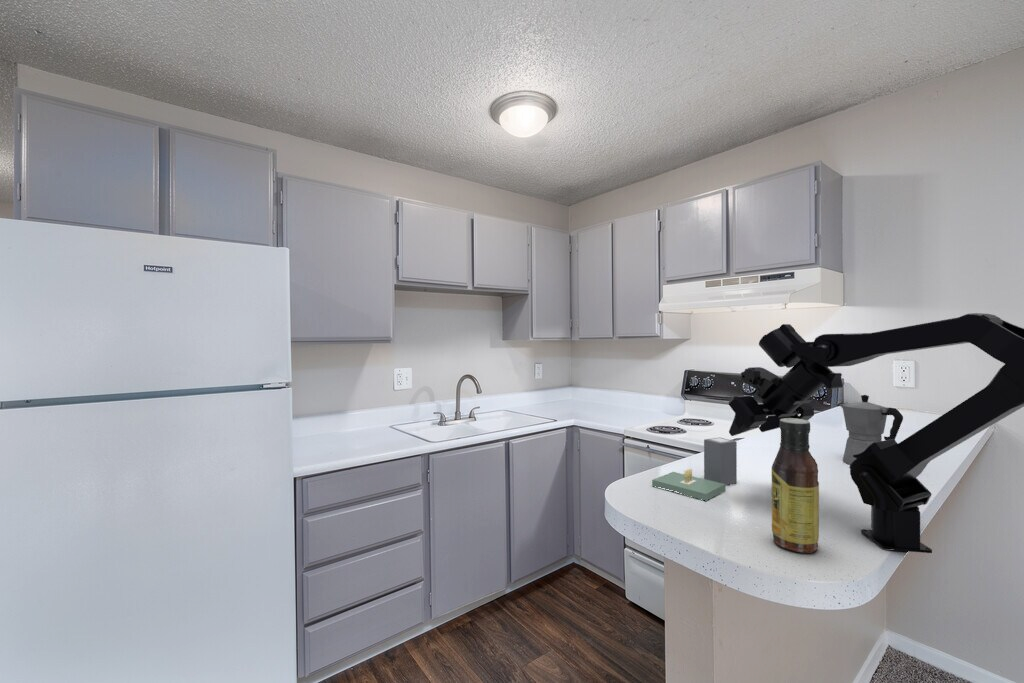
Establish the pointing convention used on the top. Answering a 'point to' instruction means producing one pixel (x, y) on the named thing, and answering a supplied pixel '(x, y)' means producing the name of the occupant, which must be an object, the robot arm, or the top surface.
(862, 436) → the coffeepot
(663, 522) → the top surface
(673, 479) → the header board
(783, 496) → the sauce bottle
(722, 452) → the plug block
